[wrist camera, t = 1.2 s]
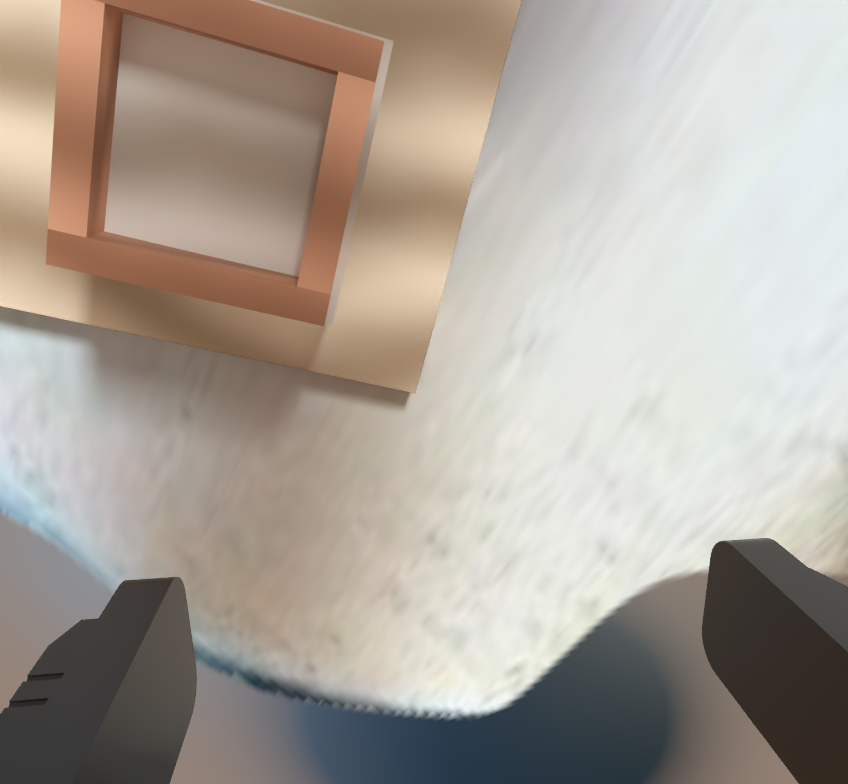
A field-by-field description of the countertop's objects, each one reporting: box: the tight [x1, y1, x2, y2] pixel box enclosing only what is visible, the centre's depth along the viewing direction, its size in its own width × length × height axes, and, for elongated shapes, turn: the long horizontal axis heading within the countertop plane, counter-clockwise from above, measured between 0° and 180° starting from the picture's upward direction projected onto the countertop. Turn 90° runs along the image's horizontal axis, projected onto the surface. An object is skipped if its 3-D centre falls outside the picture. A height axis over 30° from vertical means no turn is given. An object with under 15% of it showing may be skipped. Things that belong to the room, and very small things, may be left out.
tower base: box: [0, 0, 522, 393], centre depth 24 cm, size 17×19×7 cm
